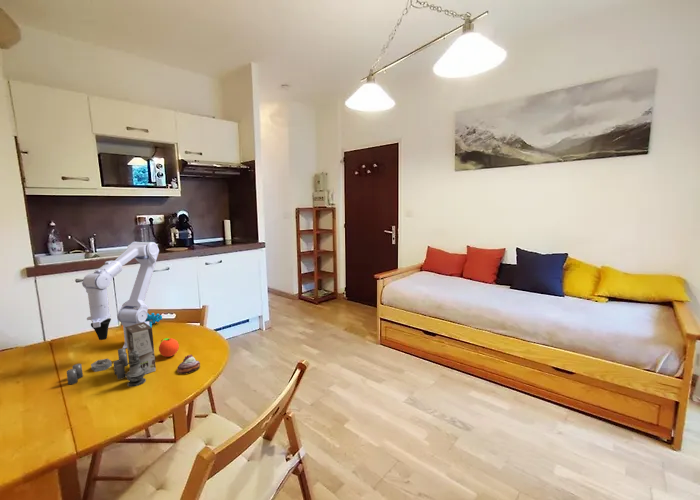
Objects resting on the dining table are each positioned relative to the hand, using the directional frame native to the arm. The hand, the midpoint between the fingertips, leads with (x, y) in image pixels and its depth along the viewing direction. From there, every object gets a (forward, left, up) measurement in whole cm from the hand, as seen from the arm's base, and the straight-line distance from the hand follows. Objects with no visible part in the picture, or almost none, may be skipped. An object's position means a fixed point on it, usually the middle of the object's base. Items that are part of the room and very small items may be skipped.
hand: (103, 339), depth 124 cm
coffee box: (-14, +15, -8) cm, 22 cm away
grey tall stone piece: (-13, +24, -8) cm, 29 cm away
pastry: (-29, +23, -9) cm, 37 cm away
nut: (0, +7, -8) cm, 11 cm away
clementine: (-22, +7, -8) cm, 24 cm away
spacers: (0, +11, -8) cm, 14 cm away
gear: (-13, -31, -9) cm, 35 cm away
